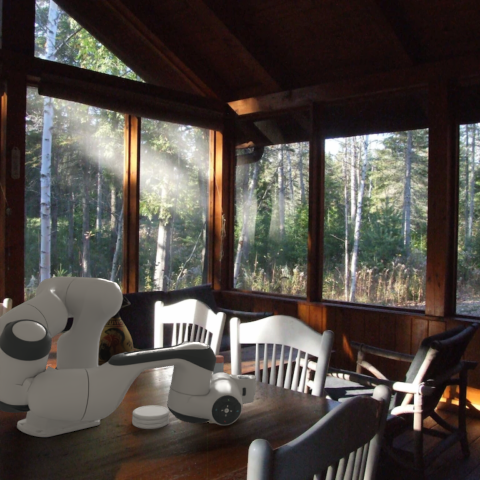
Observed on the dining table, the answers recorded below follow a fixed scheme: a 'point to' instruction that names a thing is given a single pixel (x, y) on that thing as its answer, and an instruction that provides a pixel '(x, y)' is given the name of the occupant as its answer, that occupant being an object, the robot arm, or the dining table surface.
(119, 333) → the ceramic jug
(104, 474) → the dining table surface
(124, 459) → the dining table surface
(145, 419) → the white short cylinder
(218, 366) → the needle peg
